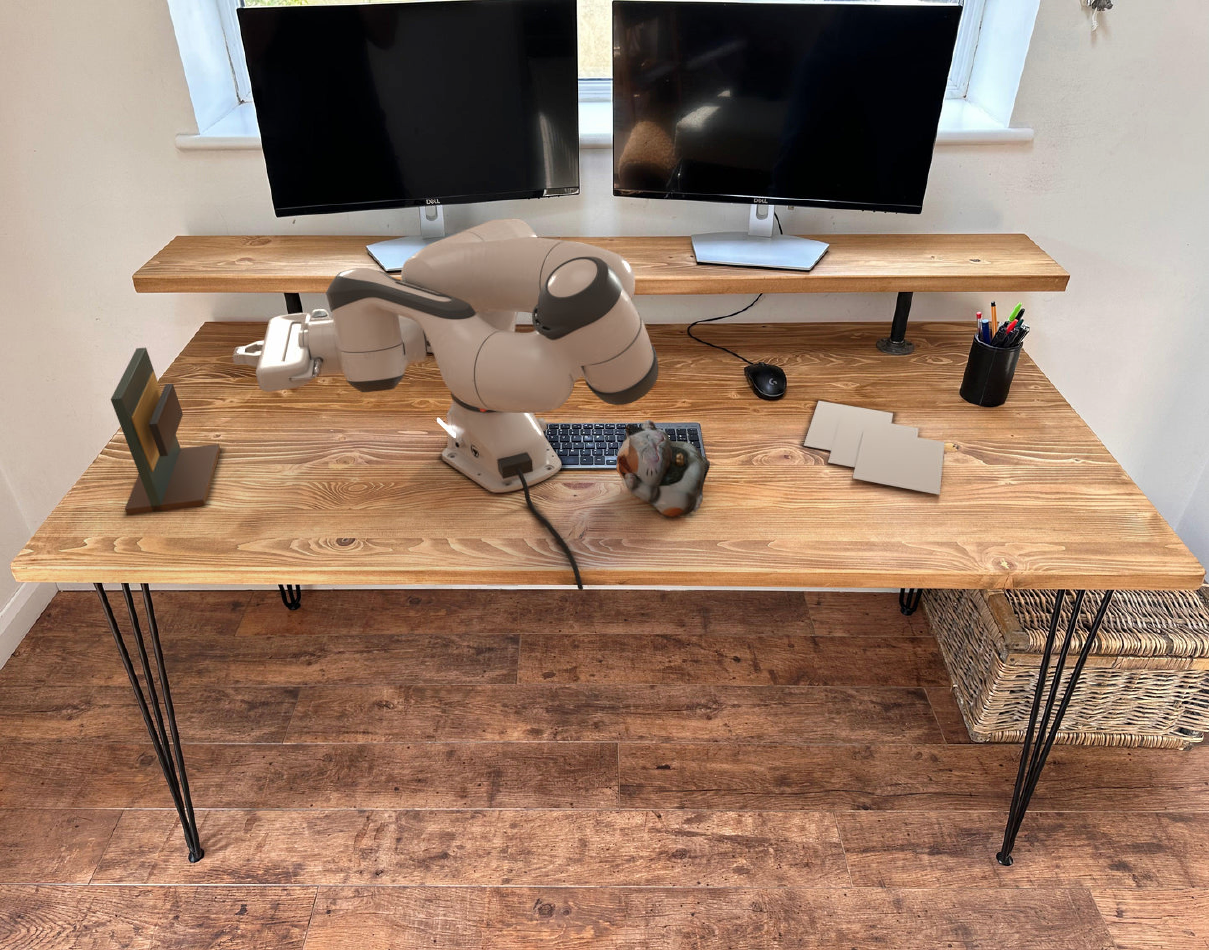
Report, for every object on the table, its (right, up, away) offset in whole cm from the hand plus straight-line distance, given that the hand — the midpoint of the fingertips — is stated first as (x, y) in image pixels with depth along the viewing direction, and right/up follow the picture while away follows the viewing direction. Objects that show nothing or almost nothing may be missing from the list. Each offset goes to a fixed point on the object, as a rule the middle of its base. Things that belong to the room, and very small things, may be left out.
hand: (234, 356), depth 140 cm
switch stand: (-15, -20, +10) cm, 27 cm away
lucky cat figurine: (+68, -22, +5) cm, 72 cm away
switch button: (-12, -12, +5) cm, 18 cm away
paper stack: (+107, -14, +17) cm, 109 cm away
